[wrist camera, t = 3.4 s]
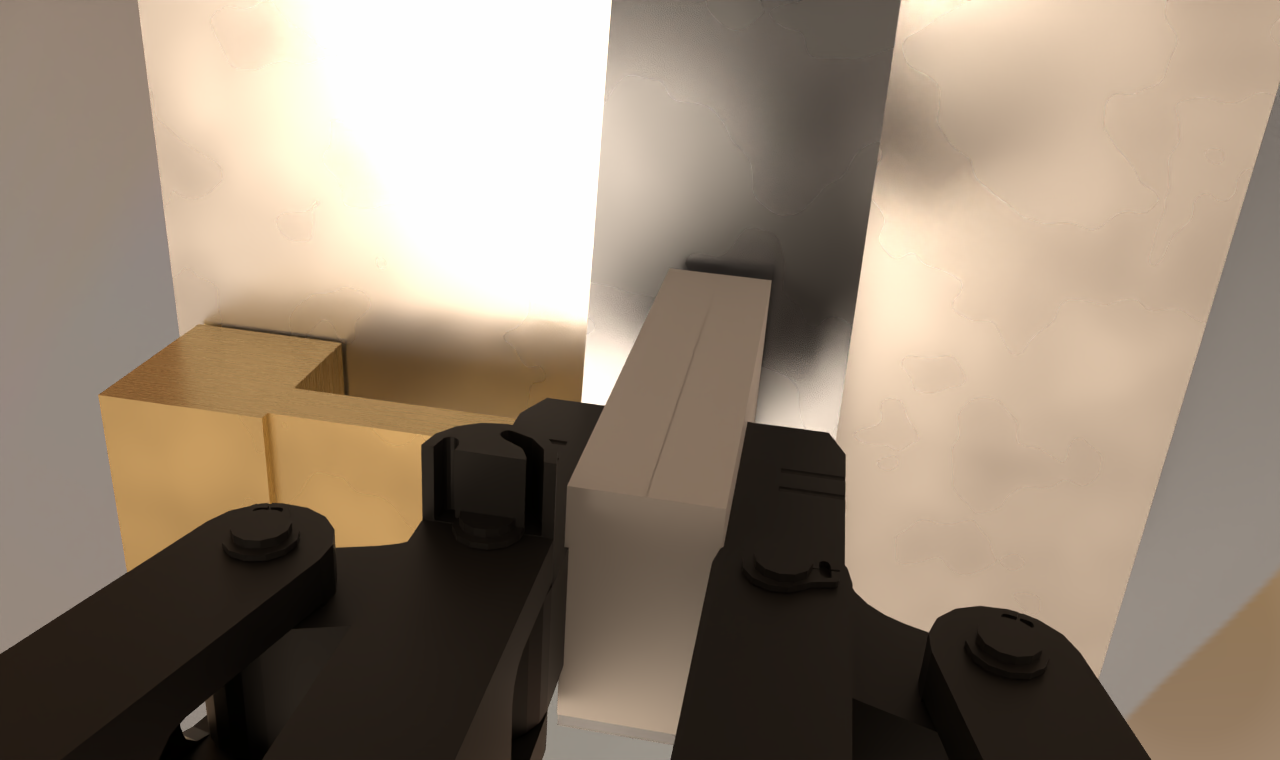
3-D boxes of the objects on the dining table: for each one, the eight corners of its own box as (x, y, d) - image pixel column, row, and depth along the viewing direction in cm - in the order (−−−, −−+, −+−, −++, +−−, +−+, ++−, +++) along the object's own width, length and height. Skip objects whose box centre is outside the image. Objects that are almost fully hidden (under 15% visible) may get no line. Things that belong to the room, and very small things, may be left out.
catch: (198, 324, 22) (98, 395, 19) (592, 375, 21) (549, 458, 18) (218, 496, 24) (129, 585, 21) (583, 551, 23) (543, 653, 20)
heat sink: (264, -582, 21) (-98, -854, 13) (1322, -561, 19) (1677, -878, 11) (330, 433, 31) (142, 640, 23) (1040, 534, 28) (1116, 806, 20)
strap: (684, -722, 14) (665, -825, 13) (1001, -722, 14) (1025, -827, 12) (574, 681, 21) (551, 738, 19) (790, 717, 20) (787, 779, 19)
